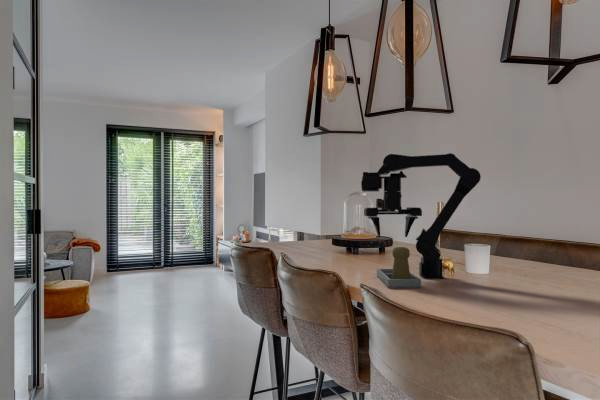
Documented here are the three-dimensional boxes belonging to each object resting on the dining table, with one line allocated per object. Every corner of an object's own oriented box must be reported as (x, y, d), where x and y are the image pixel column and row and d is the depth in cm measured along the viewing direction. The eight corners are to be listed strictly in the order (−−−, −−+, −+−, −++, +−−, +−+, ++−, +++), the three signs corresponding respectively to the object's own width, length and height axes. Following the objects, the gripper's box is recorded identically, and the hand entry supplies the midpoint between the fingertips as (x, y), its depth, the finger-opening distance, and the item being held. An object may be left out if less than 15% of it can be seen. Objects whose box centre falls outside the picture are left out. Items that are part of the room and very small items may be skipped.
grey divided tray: (405, 276, 142) (405, 268, 142) (421, 287, 123) (420, 279, 123) (376, 276, 142) (376, 268, 141) (388, 288, 123) (388, 279, 123)
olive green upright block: (406, 286, 124) (406, 249, 124) (387, 283, 127) (387, 247, 127) (414, 282, 128) (414, 247, 128) (396, 280, 132) (396, 245, 132)
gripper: (413, 191, 151) (413, 234, 151) (361, 191, 151) (361, 235, 151) (422, 191, 140) (422, 237, 140) (366, 191, 140) (366, 238, 140)
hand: (392, 237), depth 143 cm, fingers open, 9 cm apart
